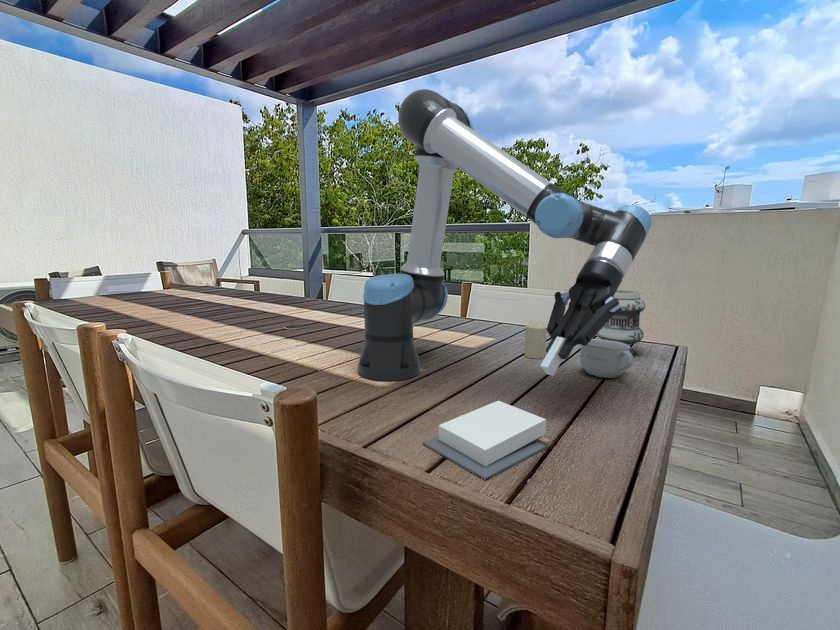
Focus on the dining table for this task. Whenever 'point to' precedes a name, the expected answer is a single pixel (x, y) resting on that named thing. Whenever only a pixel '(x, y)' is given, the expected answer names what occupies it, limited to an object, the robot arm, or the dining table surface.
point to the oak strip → (543, 441)
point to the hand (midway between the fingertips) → (546, 370)
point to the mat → (478, 468)
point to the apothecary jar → (625, 320)
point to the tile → (492, 431)
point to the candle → (535, 340)
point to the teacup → (605, 358)
